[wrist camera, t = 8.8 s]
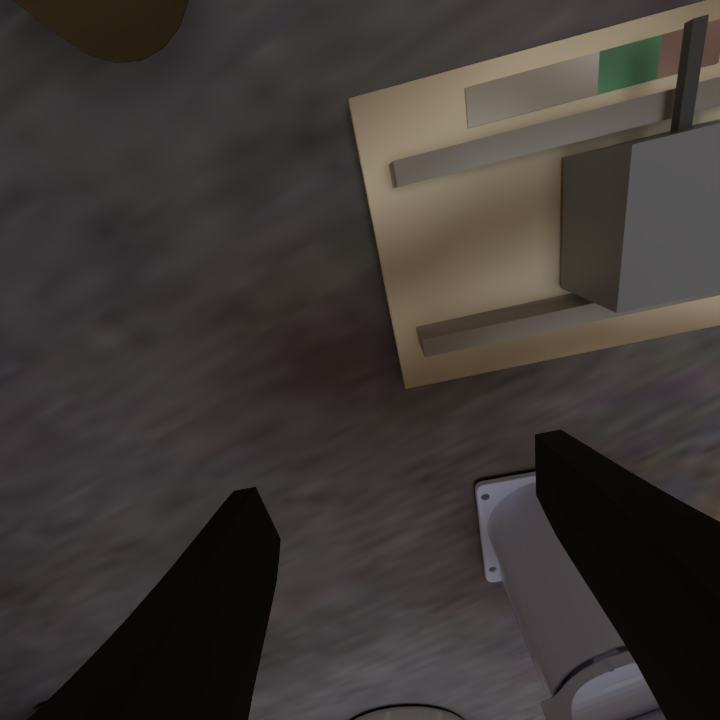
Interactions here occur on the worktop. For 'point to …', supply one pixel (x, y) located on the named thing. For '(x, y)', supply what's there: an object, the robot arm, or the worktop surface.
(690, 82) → the gauge carriage
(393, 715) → the utensil holder
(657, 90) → the gauge board
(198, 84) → the worktop surface
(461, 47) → the worktop surface
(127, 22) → the cork
